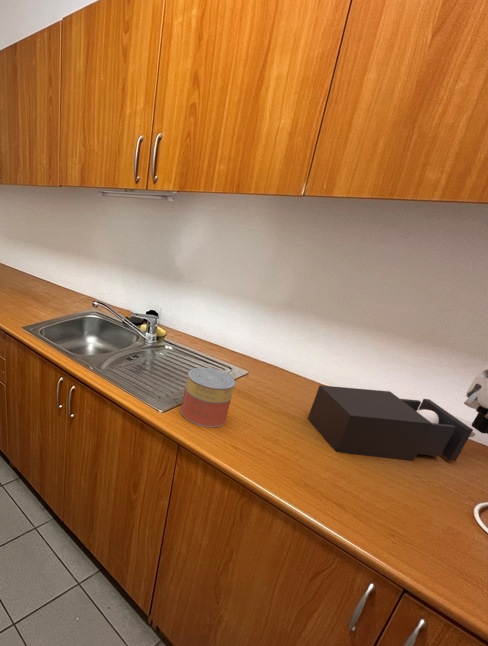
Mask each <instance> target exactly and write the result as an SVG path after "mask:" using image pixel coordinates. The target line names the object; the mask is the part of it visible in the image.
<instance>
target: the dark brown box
mask: <svg viewBox="0 0 488 646" xmlns="http://www.w3.org/2000/svg"><path fill="white" fill-rule="evenodd" d="M401 399H402V398H399V396H397V395H395V393H393V392H392V391H390V390H377V389H365V388H357V387H355V388H353V387H345V386H344V387H343V386H333V385H322V384H319V385H318V389H317V391H316V395H315V397H314V399H313V402H312V405H311V408H310V411H309V413H308V416H307V420H308V421H309V422H310V424H311V425H312V426H313V427H314V428H315V429H316V430H317V431H318V433H319V434H320V435H321V436H322V437H323V439H324V440H325V441H326V442H327V443H328V444H329V446H330V447H331V448H332V449H333V450H334V452H336V453H342V454H349V455H350V454H351V455H359V456H368V457H377V458H385V459H392V460H393V459H394V460H401V461H411V462H414V461H415V459H416V458H417V455H418V454H417V453H418V451H419V449H420V447H421V445H422V443H423V442H424V440H425V438H426V436H427V434H428V432H429V430H430V428H431V426H432V423H431V422H430V421H428V420H427V419H426V418H424V417H423V416H422V415H420V414H419V413H418V412H417V411H418V410H417V411H415V410H414V409H413V408H411V407H410V406H409V405H407V404H406V403H405V402H403V401H402V400H401Z"/></svg>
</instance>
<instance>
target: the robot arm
mask: <svg viewBox="0 0 488 646" xmlns="http://www.w3.org/2000/svg"><path fill="white" fill-rule="evenodd" d="M465 396H466V398H467V399H466V400H465V401H464V402H463V405H465V406H467V407H468V408H471V409H473V410H475V412H476V413H477V414H476V416H475V417H474V419H473V421H472V423H471V427H472V428H473V429H475V430H477V431H478V432H479V433H481V434H483V435H484V434H485V435H486V434H487V435H488V363H486V364H485V365H484V366H483V367H482V369H481V370H480V371H479V373H478V374H476V376H475V378H474V379H473V380H472V383H471V384H470V385H469V388H468V389H467V391H466V395H465Z"/></svg>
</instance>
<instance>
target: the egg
mask: <svg viewBox="0 0 488 646" xmlns="http://www.w3.org/2000/svg"><path fill="white" fill-rule="evenodd" d="M417 412H418V413H419V414H420V415H422V416H423V417H424V418H426V419H427V420H428V421H430V422H431V423H436V424H438V423H439V418H438V415H437V414H436V413H435V412H433V411H431V410H417Z"/></svg>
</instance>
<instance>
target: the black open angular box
mask: <svg viewBox="0 0 488 646" xmlns="http://www.w3.org/2000/svg"><path fill="white" fill-rule="evenodd" d="M400 399H401V400H402V401H403V402H405V403H406V404H407V405H409V406H410V407H411V408H413V409H414V410H415V411H418V410H431V411H433V412H435V413H436V414H437V415H438V418H439V423H438V424H436V423H432V426H431V428H430V430H429V432H428V434H427V436H426V438H425V440H424V442H423V443H422V445H421V447H420V449H419V451H418V453H417V455H424V456H433V457H442V456H443V457H445V458H446V460H448V461H451V462H456V461H457V460H458V457H460V454H461V452H462V451H463V449H464V447H465V446H466V444H467V442H468V441H469V438H474V437H475V436H476V433H475V432H474V431H473V430H474V428H471V427H469V425H467V424H466V423H464V422H462V421H461V420H460V419H458V418H457V417H455V416H454V415H453V414H451V413H450V412H448V411H447V410H446V409H444V408H442V407H441V406H439V405H438V404H437V403H436V402H434V401H433V400H431V399H429V398H423V399H422V401H421V400H420V399H419V400H418V399H409V398H400Z"/></svg>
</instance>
